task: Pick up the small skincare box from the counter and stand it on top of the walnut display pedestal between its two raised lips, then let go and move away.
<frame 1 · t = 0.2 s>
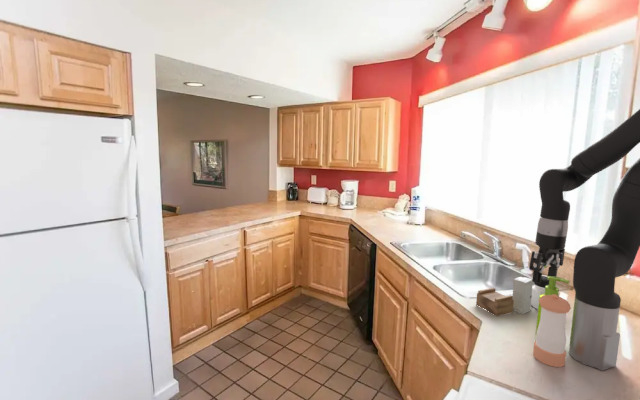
hand: (544, 280, 98), 18 cm above the worktop, tool pointing down, fingers open, 8 cm apart
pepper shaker: (548, 359, 86), on the worktop
skincare box: (520, 310, 114), on the worktop
soap dispenser: (548, 338, 96), on the worktop
medicine bottle: (541, 307, 117), on the worktop
display pedestal: (493, 308, 115), on the worktop
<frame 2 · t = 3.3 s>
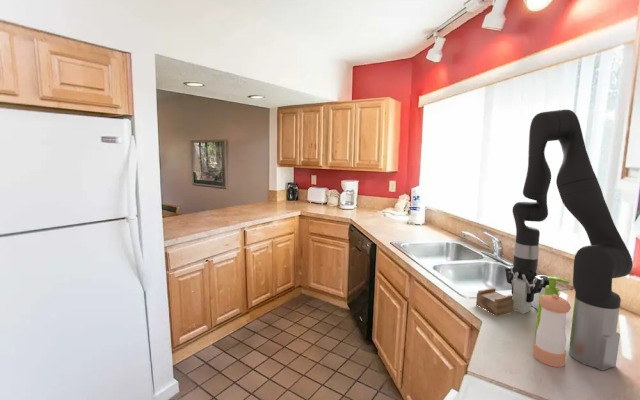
hand: (521, 298, 114), 4 cm above the worktop, tool pointing down, fingers closed on skincare box, 5 cm apart
skincare box: (520, 310, 114), on the worktop, touching gripper
everything else where it was.
when the fingers open (10 cm above the worktop, at t = 7.8 s): skincare box stays where it is, resting on display pedestal.
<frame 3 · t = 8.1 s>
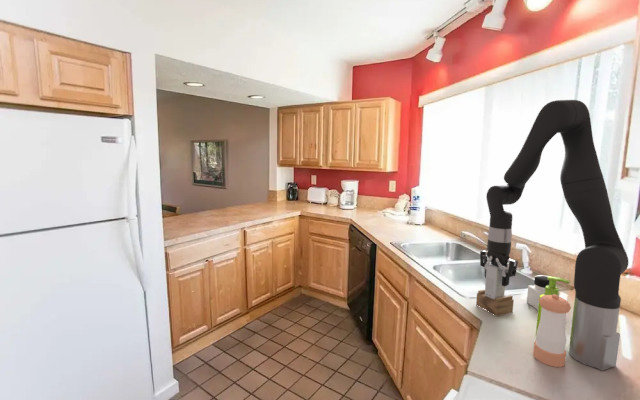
hand: (496, 282, 114), 11 cm above the worktop, tool pointing down, fingers open, 6 cm apart
skincare box: (494, 296, 114), point 5 cm above the worktop, touching display pedestal
everything else where it was.
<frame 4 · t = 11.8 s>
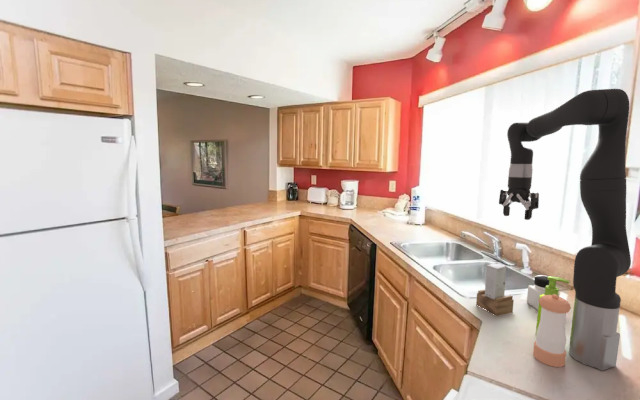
hand: (516, 217, 117), 34 cm above the worktop, tool pointing down, fingers open, 8 cm apart
nothing on the worktop moved.
at the end: skincare box inside the target area on the display pedestal (0.2 cm from its centre), point 4.8 cm above the display pedestal's base; skincare box tilted 0°; the gripper is holding nothing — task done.
